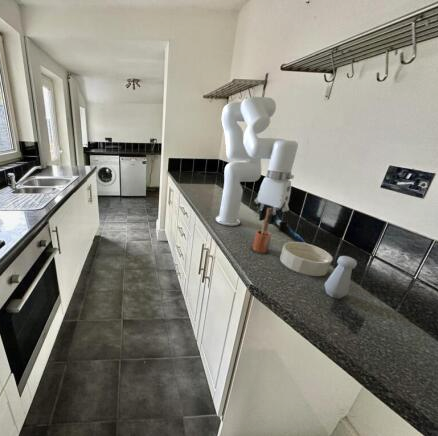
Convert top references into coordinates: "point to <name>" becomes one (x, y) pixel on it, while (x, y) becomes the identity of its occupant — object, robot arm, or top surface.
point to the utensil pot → (261, 241)
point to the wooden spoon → (266, 221)
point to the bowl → (306, 258)
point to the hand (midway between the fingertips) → (266, 221)
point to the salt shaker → (340, 277)
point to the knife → (288, 230)
